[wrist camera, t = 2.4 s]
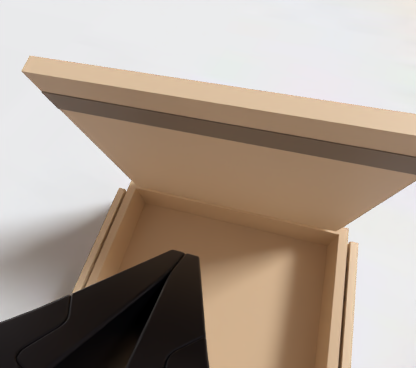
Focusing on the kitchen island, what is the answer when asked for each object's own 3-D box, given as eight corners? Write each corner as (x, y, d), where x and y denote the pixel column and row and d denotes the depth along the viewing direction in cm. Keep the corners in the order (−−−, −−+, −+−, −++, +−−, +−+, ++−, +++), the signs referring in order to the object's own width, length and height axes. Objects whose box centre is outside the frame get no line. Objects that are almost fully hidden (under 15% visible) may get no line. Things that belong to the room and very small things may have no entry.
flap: (336, 231, 17) (472, 145, 7) (137, 186, 20) (21, 72, 9) (337, 220, 18) (472, 121, 7) (141, 177, 20) (30, 55, 10)
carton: (321, 484, 15) (341, 516, 12) (58, 384, 18) (27, 392, 15) (341, 244, 20) (359, 230, 18) (136, 196, 23) (123, 177, 20)
